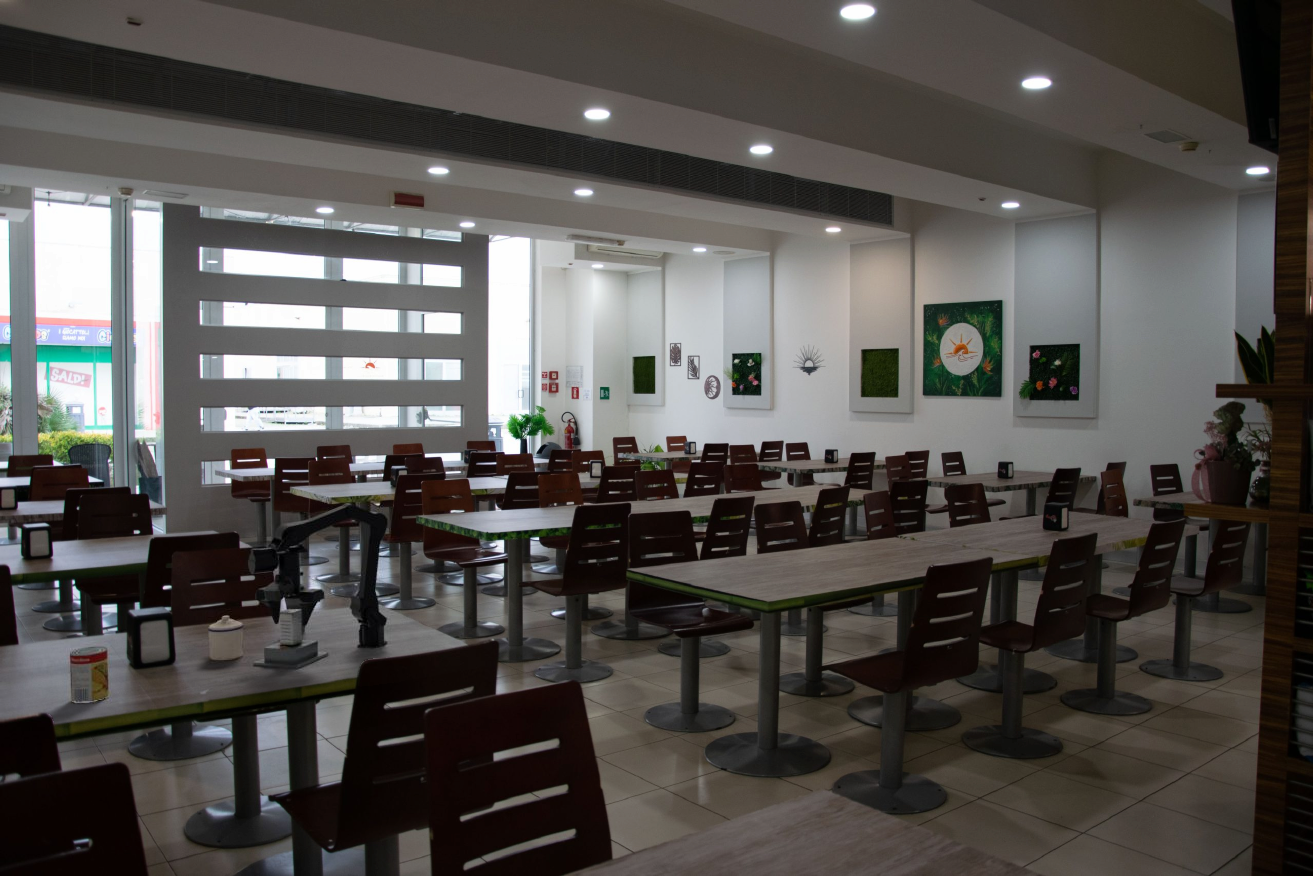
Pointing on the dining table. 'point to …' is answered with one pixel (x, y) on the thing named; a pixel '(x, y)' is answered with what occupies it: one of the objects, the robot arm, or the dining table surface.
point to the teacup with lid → (226, 639)
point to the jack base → (291, 655)
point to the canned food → (89, 674)
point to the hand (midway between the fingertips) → (290, 624)
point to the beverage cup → (295, 605)
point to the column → (290, 627)
